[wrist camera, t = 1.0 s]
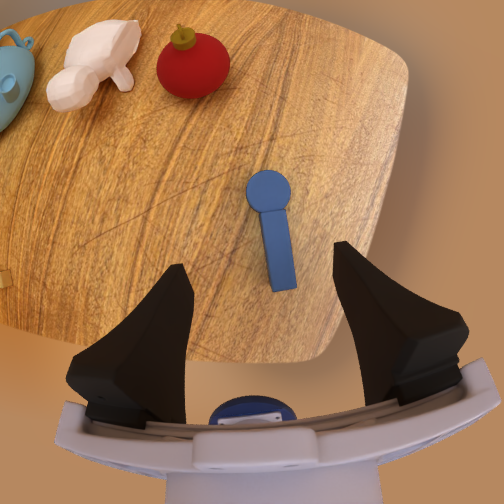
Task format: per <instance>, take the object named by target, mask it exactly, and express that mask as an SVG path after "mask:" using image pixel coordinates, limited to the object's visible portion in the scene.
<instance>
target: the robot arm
mask: <svg viewBox="0 0 504 504" xmlns="http://www.w3.org/2000/svg"><path fill="white" fill-rule="evenodd" d="M333 279H334V283H335V287H336V291H337V294H338V297H339V300H340V302H341V305H342V307H343V310H344V313H345V315H346V318H347V320H348V323H349V326H350V328H351V331H352V334H353V338H354V342H355V346H356V350H357V354H358V360H359V365H360V370H361V376H362V382H363V389H364V397H365V407H361V408H357V409H353V410H349V411H344V412H339V413H334V414H329V415H324V416H317V417H311V418H304V419H297V420H289V421H282V417H281V412H280V411H274V412H267V413H260V414H253V415H245V416H235V417H224V418H219V419H218V425H193V424H186V413H185V358H186V350H187V344H188V339H189V333H190V328H191V323H192V317H193V311H194V291H193V289H192V286H191V284H190V281H189V279H188V276H187V274H186V271H185V269H184V266H183V263H181V264H173V265H170V266H169V268H168V269H167V270H166V271H165V273H164V274H163V275H162V276H161V278H160V279H159V280H158V281H157V283H156V284H155V285H154V286H153V288H152V289H151V290H150V291H149V293H148V294H147V295H146V296H145V297H144V298H143V300H142V301H141V302H140V303H139V304H138V305H137V307H136V308H135V309H134V310H133V311H132V312H131V313H130V314H129V315H128V316H127V317H126V318H125V319H124V320H123V321H122V322H121V323H120V324H119V325H117V326H116V327H115V328H114V329H113V330H111V331H110V332H109V333H108V334H107V335H105V336H104V337H103V338H101V339H100V340H99V341H97V342H96V343H94V344H93V345H92V346H90V347H89V348H87V349H85V350H84V351H82V352H80V353H79V354H77V355H75V356H74V357H73V359H72V362H71V364H70V367H69V370H68V372H67V375H66V382H67V383H68V385H69V386H70V387H71V388H72V389H73V390H74V391H76V392H77V393H78V394H79V395H81V396H82V397H83V398H84V399H86V400H87V401H88V405H87V407H86V406H84V405H82V404H78V403H74V402H70V401H65V403H64V406H63V410H62V414H61V417H60V421H59V425H58V428H57V432H56V436H55V441H54V443H55V444H56V445H58V446H60V447H62V448H64V449H66V450H68V451H70V452H72V453H74V454H77V455H78V456H81V457H83V458H85V459H88V460H91V461H94V462H97V463H100V464H103V465H107V466H110V467H113V468H117V469H120V470H124V471H128V472H132V473H136V474H141V475H145V476H149V477H154V478H159V479H165V480H167V481H166V498H165V504H383V498H382V491H381V485H380V479H379V473H378V467H377V466H379V465H382V464H385V463H387V462H391V461H394V460H396V459H399V458H402V457H404V456H407V455H410V454H412V453H414V452H417V451H419V450H422V449H424V448H426V447H428V446H431V445H433V444H435V443H437V442H439V441H441V440H443V439H445V438H447V437H449V436H451V435H453V434H455V433H457V432H459V431H461V430H463V429H465V428H466V427H468V426H470V425H472V424H473V423H475V422H476V421H478V420H479V419H481V418H482V417H483V416H484V415H486V414H487V413H489V412H490V411H491V410H492V409H494V408H495V407H496V406H497V405H498V404H500V403H501V399H500V396H499V393H498V391H497V388H496V386H495V383H494V381H493V379H492V377H491V375H490V372H489V370H488V367H487V365H486V363H485V361H484V359H483V358H479V359H477V360H475V361H473V362H471V363H469V364H467V365H465V366H463V367H462V368H460V369H459V367H458V365H457V364H458V363H459V358H458V356H457V353H458V352H459V350H460V349H461V347H462V346H463V344H464V343H465V341H466V340H467V338H468V335H469V329H468V327H467V325H466V323H465V322H464V320H463V318H462V316H461V315H460V313H459V312H456V311H453V310H450V309H448V308H445V307H442V306H439V305H437V304H435V303H433V302H430V301H428V300H426V299H424V298H422V297H420V296H418V295H417V294H415V293H413V292H411V291H409V290H408V289H406V288H404V287H403V286H401V285H400V284H398V283H397V282H395V281H394V280H392V279H391V278H389V277H388V276H387V275H385V274H384V273H383V272H382V271H380V270H379V269H378V268H376V267H375V266H374V265H373V264H372V263H371V262H369V261H368V260H367V259H366V258H365V257H364V256H362V255H361V254H360V253H359V252H358V251H357V250H356V249H355V248H354V247H352V246H351V245H350V244H349V243H348V242H347V241H342V242H335V243H334V255H333ZM276 417H278V418H276ZM222 423H223V424H222Z"/></svg>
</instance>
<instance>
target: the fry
mask: <svg viewBox="0 0 504 504" xmlns="http://www.w3.org/2000/svg"><path fill="white" fill-rule="evenodd" d="M11 285H13V283H12V278H11V273H10V270H6V271H2V272H0V288H5V287H8V286H11Z"/></svg>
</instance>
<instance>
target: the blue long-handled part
mask: <svg viewBox="0 0 504 504" xmlns="http://www.w3.org/2000/svg"><path fill="white" fill-rule="evenodd" d="M290 195H291V190H290V185H289V183H288V181H287V180H286V178H285V177H284V176H283V175H282V174H280V173H278V172H276V171H272V170H264V171H260V172H258V173H256V174H255V175H253V176H252V177H251V179H250V180H249V182H248V184H247V187H246V198H247V201H248V204H249V205H250V207H251V208H252V209H253V210H254V211H256V212H258V213H260V214H259V219H260V225H261V232H262V238H263V244H264V250H265V257H266V263H267V269H268V276H269V282H270V286H271V289H272V291H273V292H278V291H284V290H289V289H295V288H297V283H296V276H295V269H294V262H293V255H292V248H291V241H290V235H289V228H288V222H287V215H286V210H285V209H283V208H284V207H285V206H286V205H287V203H288V202H289V199H290Z"/></svg>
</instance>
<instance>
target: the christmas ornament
mask: <svg viewBox="0 0 504 504" xmlns="http://www.w3.org/2000/svg"><path fill="white" fill-rule="evenodd" d="M177 27H178V30H176V31H175V32H174V33H173V34H172V35H171V42H170V43H168V44H167V45H166V46H165V48H164V49H163V50H162V52H161V54H160V56H159V58H158V61H157V76H158V79H159V81H160V83H161V84H162V86H163V87H164V88H165V89H166V90H167V91H168V92H170V93H171V94H173V95H175V96H178V97H181V98H189V99H192V98H200V97H203V96H206V95H208V94H210V93H212V92H214V91H215V90H216V89H218V88H219V87H220V86H221V85H222V83H223V82H224V81H225V79H226V77H227V75H228V72H229V68H230V58H229V54H228V52H227V50H226V48H225V47H224V45H223V44H222V43H221V42H220V41H219V40H217V39H216V38H214V37H212V36H210V35H207V34H202V33H195V31H194V30H193V29H191V28H181V25H180V24H177Z"/></svg>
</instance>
